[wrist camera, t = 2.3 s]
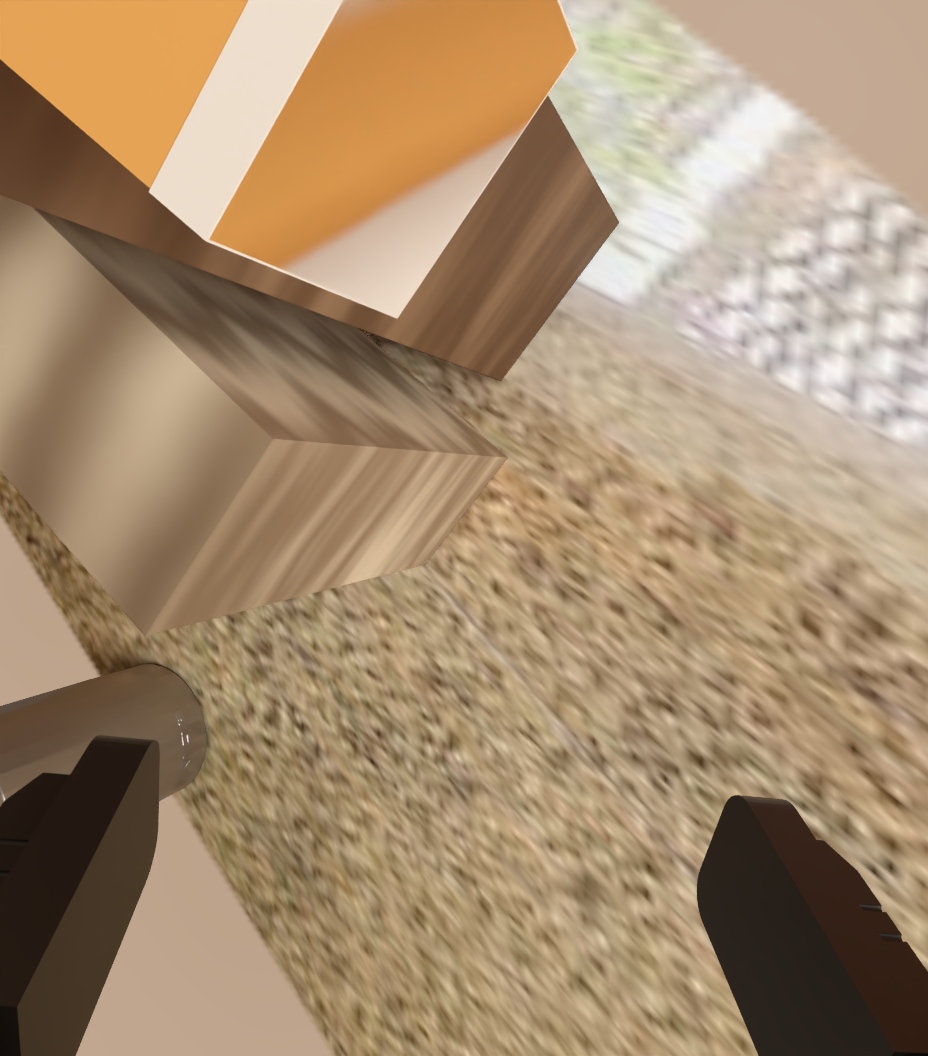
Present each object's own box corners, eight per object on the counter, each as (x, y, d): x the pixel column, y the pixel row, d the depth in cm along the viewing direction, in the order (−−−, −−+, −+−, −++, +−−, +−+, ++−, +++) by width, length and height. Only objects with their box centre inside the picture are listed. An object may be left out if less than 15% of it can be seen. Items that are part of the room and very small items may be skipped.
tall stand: (619, 222, 37) (28, -831, 7) (501, 381, 40) (-270, 94, 10) (402, 66, 41) (-561, -1034, 11) (309, 221, 44) (-653, -324, 14)
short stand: (507, 457, 40) (272, 438, 21) (424, 564, 43) (144, 636, 23) (337, 310, 44) (1, 178, 25) (269, 416, 46) (-87, 372, 27)
